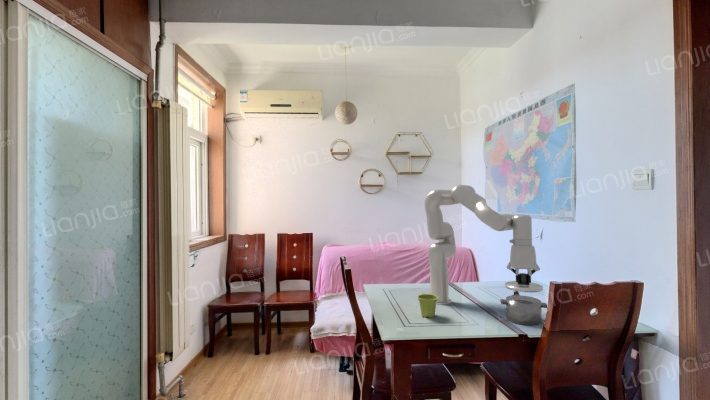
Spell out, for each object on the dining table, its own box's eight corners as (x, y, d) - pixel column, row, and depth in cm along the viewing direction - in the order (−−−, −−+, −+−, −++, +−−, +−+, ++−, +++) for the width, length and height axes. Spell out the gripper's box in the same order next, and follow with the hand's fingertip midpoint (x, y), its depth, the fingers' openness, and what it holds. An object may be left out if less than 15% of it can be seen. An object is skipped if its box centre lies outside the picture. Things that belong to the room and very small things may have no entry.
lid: (506, 290, 142) (506, 276, 142) (503, 282, 156) (503, 269, 156) (546, 293, 137) (545, 278, 137) (539, 285, 151) (539, 271, 151)
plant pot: (426, 320, 147) (426, 300, 147) (413, 314, 156) (413, 295, 156) (442, 316, 152) (442, 297, 152) (429, 311, 160) (428, 293, 160)
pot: (502, 323, 143) (502, 302, 143) (499, 312, 156) (499, 293, 156) (550, 328, 137) (550, 306, 137) (543, 317, 150) (543, 297, 150)
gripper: (503, 243, 146) (503, 284, 146) (545, 244, 140) (546, 287, 140) (501, 241, 153) (502, 281, 153) (541, 242, 148) (542, 283, 147)
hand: (523, 283), depth 146 cm, fingers closed on lid, 3 cm apart
